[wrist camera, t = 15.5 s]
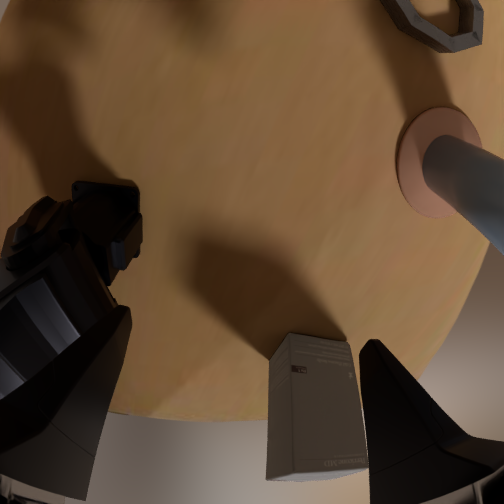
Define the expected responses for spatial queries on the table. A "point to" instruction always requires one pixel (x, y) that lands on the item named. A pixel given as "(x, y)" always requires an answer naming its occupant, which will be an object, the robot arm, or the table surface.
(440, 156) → the blue-grey cylinder
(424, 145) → the terracotta coaster
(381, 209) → the table surface
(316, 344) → the skincare box
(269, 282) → the table surface
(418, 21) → the dark grey octagonal ring
